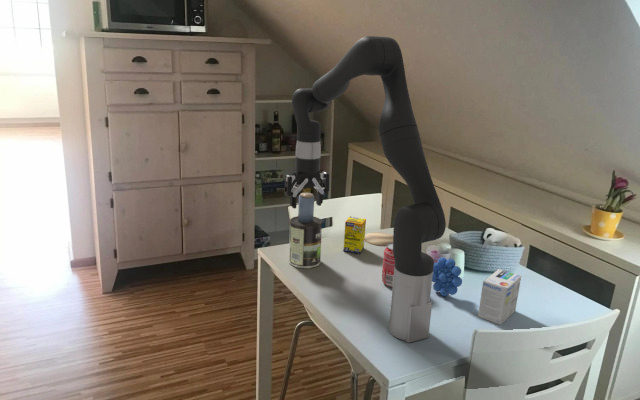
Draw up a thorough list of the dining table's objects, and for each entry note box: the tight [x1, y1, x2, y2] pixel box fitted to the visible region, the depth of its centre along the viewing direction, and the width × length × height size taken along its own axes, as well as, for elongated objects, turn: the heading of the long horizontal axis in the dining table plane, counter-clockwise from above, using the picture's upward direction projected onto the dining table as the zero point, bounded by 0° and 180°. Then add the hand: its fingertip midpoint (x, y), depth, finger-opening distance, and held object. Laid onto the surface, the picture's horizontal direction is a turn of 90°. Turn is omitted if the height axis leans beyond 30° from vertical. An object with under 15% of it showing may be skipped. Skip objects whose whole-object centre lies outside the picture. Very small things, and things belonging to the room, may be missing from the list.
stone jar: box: [297, 192, 315, 223], centre depth 166 cm, size 5×5×9 cm
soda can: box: [381, 243, 395, 288], centre depth 157 cm, size 7×7×12 cm
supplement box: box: [342, 216, 367, 255], centre depth 181 cm, size 6×6×11 cm
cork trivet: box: [364, 231, 393, 247], centre depth 193 cm, size 12×12×1 cm
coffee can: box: [288, 215, 323, 269], centre depth 169 cm, size 10×10×14 cm
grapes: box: [432, 257, 463, 297], centre depth 151 cm, size 12×7×12 cm, turn 32°
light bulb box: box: [477, 268, 522, 326], centre depth 142 cm, size 11×7×11 cm, turn 141°
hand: (306, 206), depth 166 cm, fingers open, 8 cm apart
